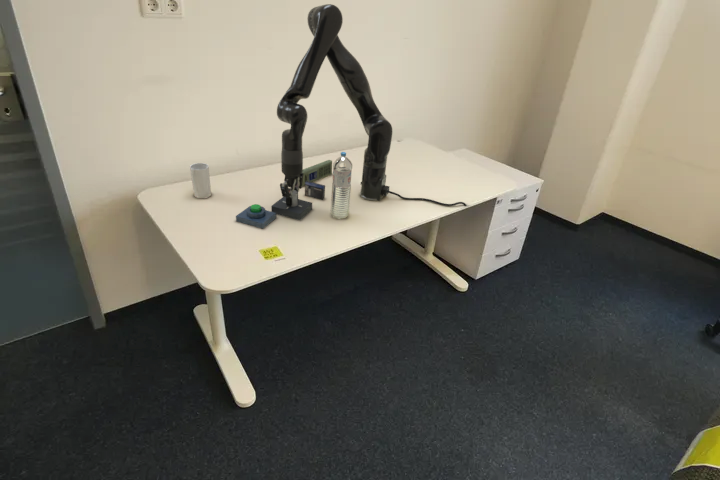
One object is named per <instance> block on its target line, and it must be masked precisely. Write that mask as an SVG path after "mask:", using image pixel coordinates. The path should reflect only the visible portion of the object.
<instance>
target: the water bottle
mask: <svg viewBox="0 0 720 480" xmlns="http://www.w3.org/2000/svg"><path fill="white" fill-rule="evenodd" d="M352 170H353V163H352V161H351V160H350V159H349V158H348V157H347V152H346V151H341V152H340V156H339V157H337V158H336V159H335V160H334V161H333V162H332V183H331V199H330V216H331V217H332V218H333V219H336V220H344V219H346V218H348V217H349V213H350V199H351V187H352Z"/></svg>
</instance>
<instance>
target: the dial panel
mask: <svg viewBox="0 0 720 480" xmlns="http://www.w3.org/2000/svg"><path fill="white" fill-rule="evenodd" d="M270 208H271V210H270V211H271V212H275V213H276V215H278V216H282V217H286V218H290V219H292V220H297V221H302V219H303V218H305V217H306V216H307V215H309V213H311V211H313V202H311V201H307V200H304V199H300V198H298V205H297V206H294V207H291V206H288V205H286V197H283V196H282V197H281V198H279V200H277V201H276V202H274V203H273V204H272V205H271V206H270Z"/></svg>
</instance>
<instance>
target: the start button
mask: <svg viewBox="0 0 720 480" xmlns="http://www.w3.org/2000/svg"><path fill="white" fill-rule="evenodd" d="M250 206H251V212H253V213H258V212H261V207H262V205H261V204H259V203H258V204H257V203H255V204H251V205H250Z"/></svg>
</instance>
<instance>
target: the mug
mask: <svg viewBox="0 0 720 480" xmlns="http://www.w3.org/2000/svg"><path fill="white" fill-rule="evenodd" d="M209 167H210V166H209V164H207V163H205V162H196V163H192V164H190V166H189V171H190V177H191V183H192V190H193V195H194V197H195V198H196V199H207V198H210V197H211V196H212V188H211V178H210V176H211V175H210V168H209Z"/></svg>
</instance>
